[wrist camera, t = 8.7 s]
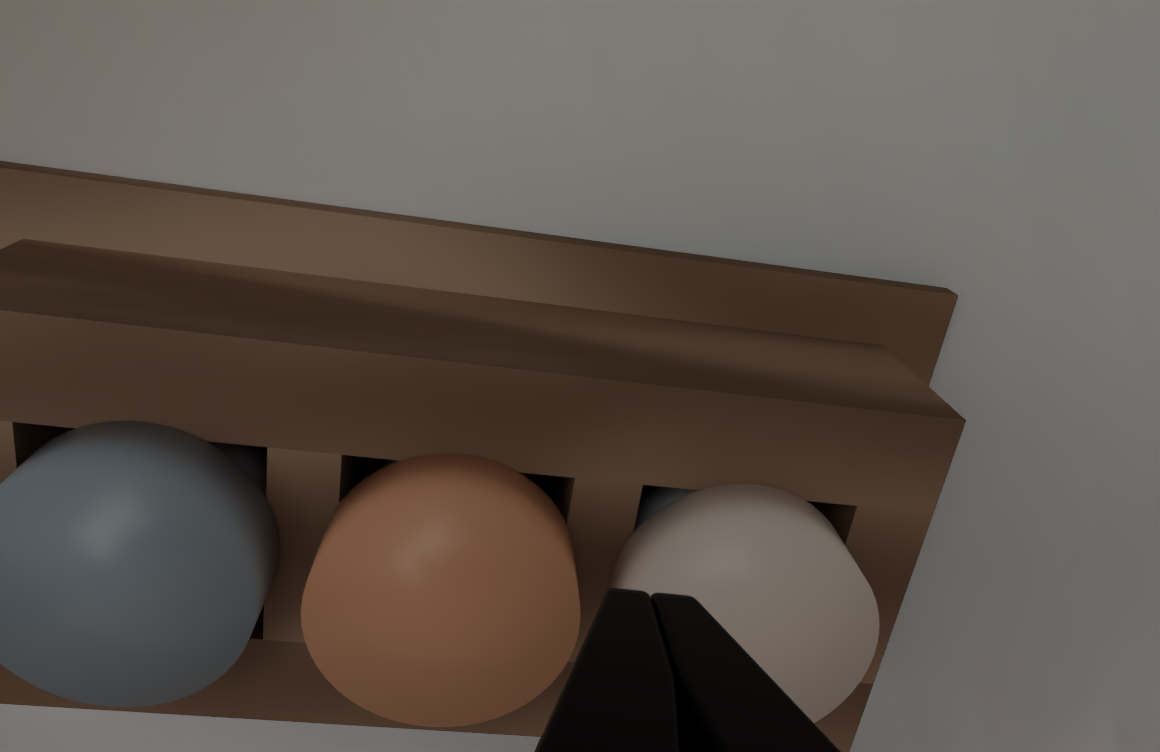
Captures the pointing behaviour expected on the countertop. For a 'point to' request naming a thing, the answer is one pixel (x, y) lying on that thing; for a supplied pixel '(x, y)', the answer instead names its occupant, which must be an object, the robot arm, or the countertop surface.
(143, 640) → the knob
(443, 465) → the knob mid
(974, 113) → the countertop surface
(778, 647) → the knob
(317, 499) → the mount
